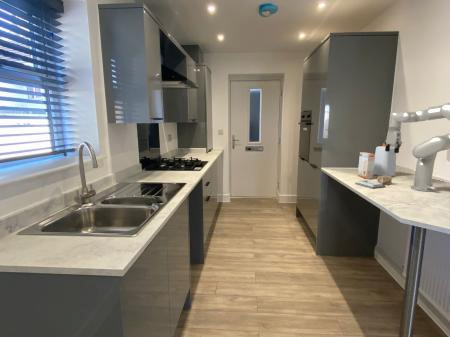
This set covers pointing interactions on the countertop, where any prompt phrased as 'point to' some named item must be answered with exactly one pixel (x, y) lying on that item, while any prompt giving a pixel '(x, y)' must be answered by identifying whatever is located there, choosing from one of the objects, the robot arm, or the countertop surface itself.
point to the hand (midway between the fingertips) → (391, 152)
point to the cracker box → (366, 165)
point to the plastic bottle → (384, 161)
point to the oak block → (384, 180)
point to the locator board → (370, 184)
